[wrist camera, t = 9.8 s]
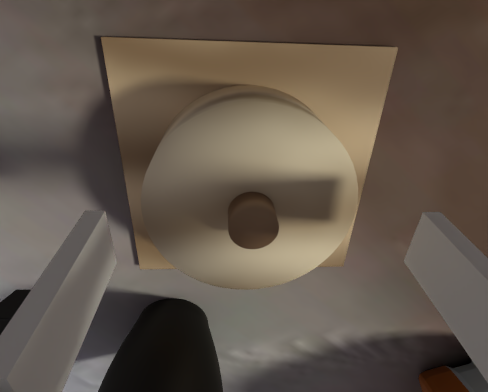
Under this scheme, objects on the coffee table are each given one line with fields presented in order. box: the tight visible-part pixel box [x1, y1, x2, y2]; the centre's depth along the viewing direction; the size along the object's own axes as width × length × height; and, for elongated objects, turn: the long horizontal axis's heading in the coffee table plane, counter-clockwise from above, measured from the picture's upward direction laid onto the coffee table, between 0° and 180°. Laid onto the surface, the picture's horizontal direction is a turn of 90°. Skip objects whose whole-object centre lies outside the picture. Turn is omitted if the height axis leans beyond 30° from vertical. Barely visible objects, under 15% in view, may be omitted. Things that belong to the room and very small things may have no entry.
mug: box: [98, 299, 223, 392], centre depth 23 cm, size 8×12×10 cm
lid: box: [141, 85, 358, 289], centre depth 17 cm, size 11×11×6 cm
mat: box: [101, 37, 398, 269], centre depth 20 cm, size 15×15×1 cm
